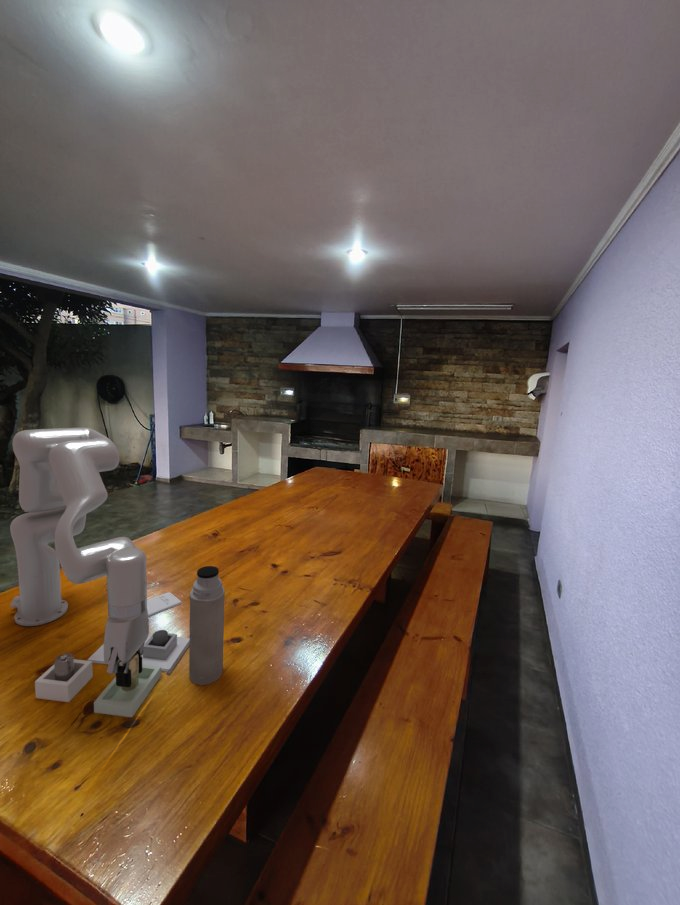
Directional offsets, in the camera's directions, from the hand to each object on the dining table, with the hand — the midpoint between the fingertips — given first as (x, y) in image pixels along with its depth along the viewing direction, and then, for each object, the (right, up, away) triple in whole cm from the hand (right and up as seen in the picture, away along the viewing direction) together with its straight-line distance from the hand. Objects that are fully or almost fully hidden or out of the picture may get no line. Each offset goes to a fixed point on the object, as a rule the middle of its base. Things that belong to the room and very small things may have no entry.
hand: (129, 677), depth 89 cm
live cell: (0, -2, 0) cm, 2 cm away
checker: (-4, -2, +14) cm, 15 cm away
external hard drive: (-11, +2, +35) cm, 37 cm away
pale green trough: (0, -5, +1) cm, 5 cm away
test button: (+1, 0, +14) cm, 14 cm away
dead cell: (-15, -3, +1) cm, 16 cm away
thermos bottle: (+14, -4, +10) cm, 18 cm away
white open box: (-15, -3, +1) cm, 16 cm away
